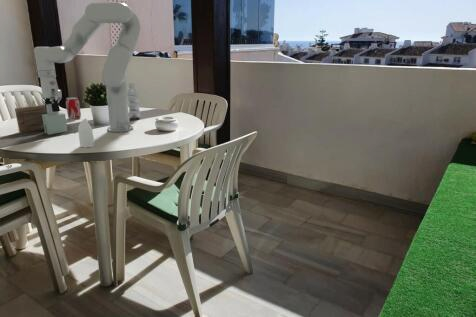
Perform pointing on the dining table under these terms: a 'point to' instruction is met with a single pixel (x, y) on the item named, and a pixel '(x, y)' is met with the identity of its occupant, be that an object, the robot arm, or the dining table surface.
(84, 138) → the white pointed crystal
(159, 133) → the dining table surface
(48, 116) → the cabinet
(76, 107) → the soda can
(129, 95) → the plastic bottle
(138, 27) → the robot arm
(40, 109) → the brown boxy piece
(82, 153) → the dining table surface
